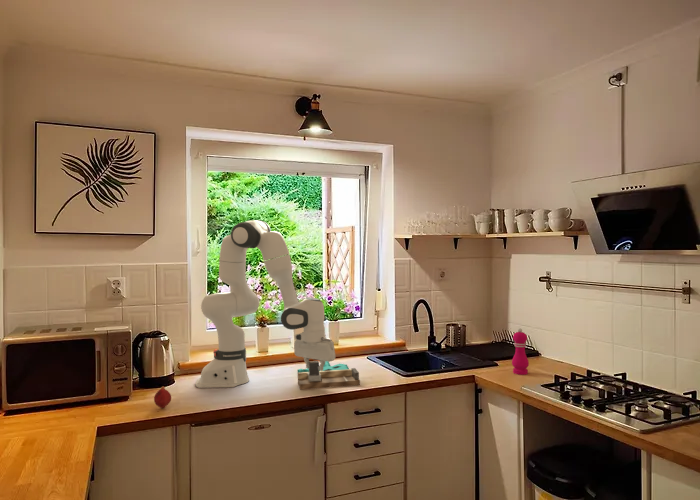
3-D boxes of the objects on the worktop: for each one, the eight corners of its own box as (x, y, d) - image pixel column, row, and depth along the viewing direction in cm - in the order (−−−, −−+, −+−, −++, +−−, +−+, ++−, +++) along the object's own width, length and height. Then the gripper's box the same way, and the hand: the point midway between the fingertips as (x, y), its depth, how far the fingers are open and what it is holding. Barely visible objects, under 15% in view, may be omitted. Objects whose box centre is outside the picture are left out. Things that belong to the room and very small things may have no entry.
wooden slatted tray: (300, 389, 212) (299, 377, 212) (297, 382, 222) (297, 371, 222) (360, 385, 217) (359, 373, 216) (355, 378, 226) (354, 367, 226)
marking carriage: (308, 381, 214) (308, 363, 214) (307, 378, 220) (307, 360, 220) (322, 380, 216) (322, 363, 215) (320, 377, 221) (320, 359, 221)
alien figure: (297, 374, 237) (331, 381, 225) (297, 369, 237) (331, 375, 225) (325, 365, 253) (358, 371, 241) (325, 361, 253) (358, 366, 241)
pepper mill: (511, 374, 230) (510, 329, 229) (512, 370, 236) (512, 326, 236) (528, 375, 227) (528, 330, 227) (529, 371, 234) (528, 327, 233)
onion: (161, 412, 186) (160, 389, 186) (151, 409, 189) (150, 387, 189) (174, 407, 191) (174, 385, 191) (164, 405, 194) (163, 383, 194)
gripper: (338, 337, 214) (338, 371, 214) (301, 332, 226) (302, 364, 227) (328, 340, 209) (328, 374, 209) (291, 335, 221) (292, 367, 222)
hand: (314, 369), depth 218 cm, fingers open, 5 cm apart
